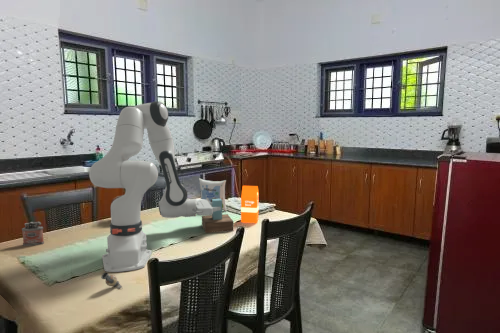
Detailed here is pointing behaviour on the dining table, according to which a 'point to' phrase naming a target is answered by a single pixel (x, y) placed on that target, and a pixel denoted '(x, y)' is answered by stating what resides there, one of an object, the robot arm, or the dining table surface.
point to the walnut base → (217, 224)
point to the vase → (111, 280)
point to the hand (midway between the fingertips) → (218, 206)
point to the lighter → (32, 234)
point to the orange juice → (249, 204)
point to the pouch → (213, 191)
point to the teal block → (217, 214)
